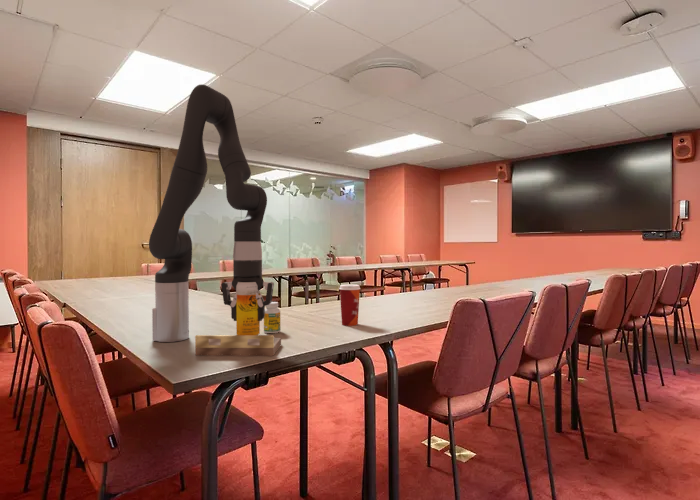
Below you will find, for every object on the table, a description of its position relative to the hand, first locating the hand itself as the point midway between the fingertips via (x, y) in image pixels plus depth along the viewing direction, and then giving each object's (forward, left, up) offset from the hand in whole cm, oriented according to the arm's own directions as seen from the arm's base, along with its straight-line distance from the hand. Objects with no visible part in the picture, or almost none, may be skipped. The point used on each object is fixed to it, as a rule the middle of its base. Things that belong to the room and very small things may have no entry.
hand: (248, 320), depth 111 cm
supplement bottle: (+2, +22, -8) cm, 23 cm away
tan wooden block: (-2, -1, -8) cm, 8 cm away
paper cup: (+27, +35, -8) cm, 45 cm away
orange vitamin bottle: (0, 0, -5) cm, 5 cm away
